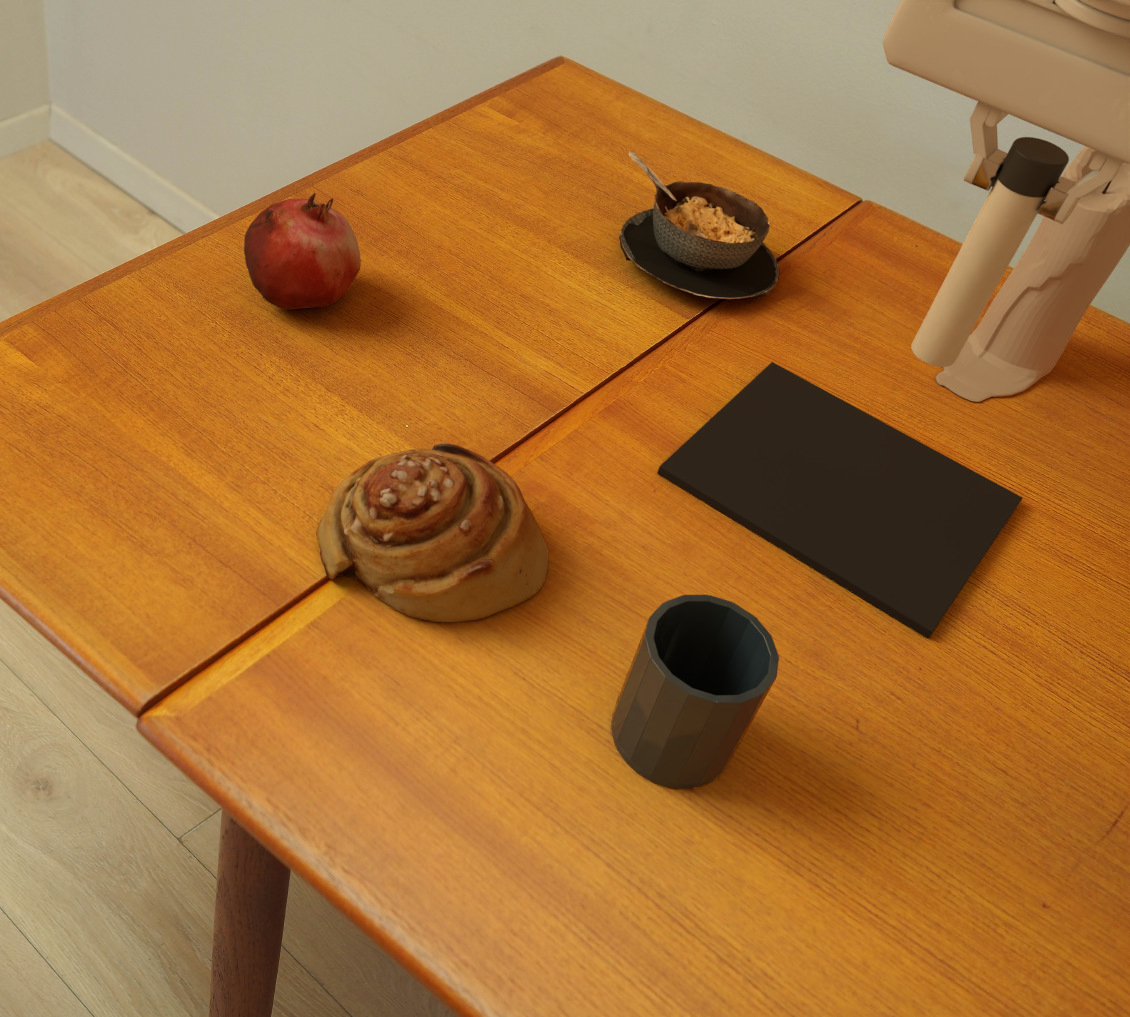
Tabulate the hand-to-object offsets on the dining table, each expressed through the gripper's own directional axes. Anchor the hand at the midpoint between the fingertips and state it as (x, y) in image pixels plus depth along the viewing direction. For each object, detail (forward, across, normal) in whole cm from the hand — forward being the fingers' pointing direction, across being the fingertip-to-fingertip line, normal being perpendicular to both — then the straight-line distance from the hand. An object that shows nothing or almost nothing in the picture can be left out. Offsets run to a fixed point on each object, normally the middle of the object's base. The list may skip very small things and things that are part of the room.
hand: (1016, 199), depth 64 cm
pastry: (+28, -20, -23) cm, 41 cm away
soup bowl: (+28, -26, +22) cm, 44 cm away
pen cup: (+28, 0, -24) cm, 37 cm away
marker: (+11, 0, 0) cm, 11 cm away
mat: (+28, -2, +4) cm, 28 cm away
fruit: (+28, -46, -9) cm, 54 cm away
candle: (+28, +1, +29) cm, 40 cm away
